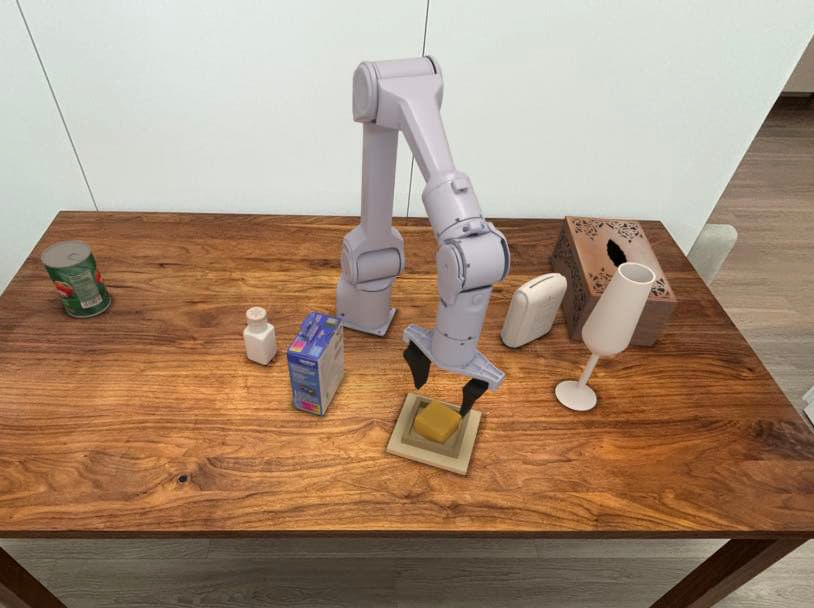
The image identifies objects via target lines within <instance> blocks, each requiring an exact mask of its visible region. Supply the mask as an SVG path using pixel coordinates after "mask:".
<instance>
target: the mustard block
mask: <svg viewBox="0 0 814 608" xmlns="http://www.w3.org/2000/svg"><path fill="white" fill-rule="evenodd" d="M433 399H434V400H433V401H432V402H431V403H430V404H429V405H428V406H427V407H426V408H425V409H424V410H423V411H422V412H421V413H420V414H419V415H418V416H417V417H416V418H415V422H414V428H413V431H415V432H416V433H418V434H420V435H421V436H423V437H424V438H426V439H427V440H430V441H433V442H437V443H440V444H444V443H445V442H446V441H447V440H448V439H449V438H450V437H451V435H452V434H453V433H454V432H455V431H456V430H457V429H458V428H459V424H460V420H461V415H459V414H458V413H457V412H455V411H453V410H452V409H450V408H448V407H447V406H445V405H443V404H442V403H440V402H438V401H437V400H438V399H436V398H433ZM435 399H436V400H435Z"/></svg>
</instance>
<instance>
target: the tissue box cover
mask: <svg viewBox="0 0 814 608" xmlns="http://www.w3.org/2000/svg"><path fill="white" fill-rule="evenodd" d="M550 262H551V266H552V270H553V273H559V274H560V275H561V276H564V277H565V278H566V281H567V289H566V292H565V294H564V297H563V299H562V302H561V305H562V308H563V309H562V310H563V313H564V318H565V321H566V324H567V328H568V333H569V336H570V339H571V341H578V342H579V341H580V342H584V341H583V338H582V329H583V326H584V325H585V323H586V321H587V320H588V318H589V316H590V315H591V313H592V311H593V310H594V308H595V306H596V305H597V303H598V301H599V299H600V298H601V296H602V294H603V293H604V291H605V289H606V288H607V286H608V284H609V283H610V281H611V279H612V278H613V276H614V274H615V273H616V271H617V269H618V267H619V266H620V265H621V264H623V263H638V264H641V265H644V266H646V267H648V268H649V269H651V270H652V271H653V272H654V274H655V276H656V277H655V281H654V283H653V286H652V288H651V291H650V293H649V295H648V298H647V300H646V303H645V305H644V308H643V310H642V313H641V315H640V318H639V320H638V322H637V325H636V327H635V330H634V332H633V335H632V337H631V340H630V342H629V344H628V346H629V345H630V346H641V347H642V346H643V347H653V346H654V343H655V342H656V340H657V338H658V337H659V335H660V334H661V331H662V330H663V328H664V327H665V325H666V323H667V322H668V320H669V318H670V317H671V315H672V313H673V311H674V310H675V308H676V306H677V304H678V303H679V301H678V299H677V298H676V297H677V296H676V295H675V292H674V291H673V289H672V287H671V284H670V283H669V281H668V279H667V276H666V274H665V272H664V270H663V269H662V267H661V264H660V262H659V260H658V258H657V256H656V254H655V251H654V250H653V248H652V245H651V244H650V241H649V239H648V237H647V235H646V233H645V231H644V229H643V227H642V225H641V223H640V221H639V220H630V219H615V218H605V217H604V218H602V217H591V216H589V217H587V216H577V215H576V216H574V215H565V216H564V219H563V222H562V225H561V227H560V230H559V233H558V236H557V240H556V242H555V245H554V248H553V251H552V253H551V257H550Z"/></svg>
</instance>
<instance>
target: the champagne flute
mask: <svg viewBox="0 0 814 608" xmlns="http://www.w3.org/2000/svg"><path fill="white" fill-rule="evenodd" d="M655 277H656V276H655V274H654V272H653V271H652V270H651V269H649V268H648V267H646V266H644V265H641V264H638V263H623V264H621V265H620V266H619V267H618V269H617V271H616V273H615V274H614V276H613V278H612V279H611V281H610V283H609V284H608V286H607V288H606V289H605V291H604V293H603V294H602V296H601V298H600V299H599V301H598V303H597V305H596V306H595V308H594V310H593V311H592V313H591V315H590V316H589V318H588V320H587V321H586V323H585V325H584V326H583V329H582V338H583V341H582V342H583V343H584V345H585V347H586V348H587V349H588V350H589V351H590V352H591V354H590V357H589V358H588V361H587V363H586V365H585V367H584V369H583V371H582V372H581V375H580V377H579V379H578V380H564V381H562V382H559V383H558V384H557V385H556V386H555V391H554V392H555V393H554V394H555V396H556V398H557V399H558V401H559V402H560V403H561V404H562V405H563V406H565V407H567V408H569V409H571V410H575V411H581V412H583V411H588V410H591V409H593V408H594V407H595V406H596V404H597V401H598V399H597V395H596V392H595V391H594V390H593V389H592V388H591V387H589V385H587V383H588V380H589V378H591V377H590V376H591V374H592V372H593V371H594V369H595V367H596V365H597V363H598V361H599V359H600V357H608V356H609V357H610V356H614V355H617V354H619V353H621V352H623V351H624V350H625V349H627V348H628V346H629V342H630V340H631V337H632V335H633V332H634V330H635V327H636V325H637V322H638V320H639V318H640V315H641V313H642V310H643V308H644V305H645V303H646V300H647V298H648V295H649V293H650V291H651V288H652V286H653V283H654V281H655Z"/></svg>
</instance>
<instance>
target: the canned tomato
mask: <svg viewBox="0 0 814 608" xmlns="http://www.w3.org/2000/svg"><path fill="white" fill-rule="evenodd" d="M40 260H41V262H42V264H43V265H44V267H45V270H46V272H47V274H48V275H49V278H50V280H51V283H52V284H53V286H54V288H55V291H56V292H57V294H58V296H59V298H60V300H61V302H62V305H63V306H64V308H65V311H66V313H67V314H68V315H69V316H71V317H74V318H77V319H87V318H92V317H95V316H98V315H100V314H102V313H104V312H105V311H106V310H107V309H108V308H109V307H110V306H111V302H112V298H111V296H110V294H109V291H108V289H107V286H106V284H105V282H104V279H103V277H102V273H101V272H100V268H99V267H98V264H97V262H96V259H95V257H94V255H93V252H92V248H91V246H90V245H89V244H88V243H86V242H85V241H81V240H63V241H60V242H57V243H54V244H52V245H50V246H48V247H47V248H45V249H44V251H43V252H42V253H41V256H40Z"/></svg>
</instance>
